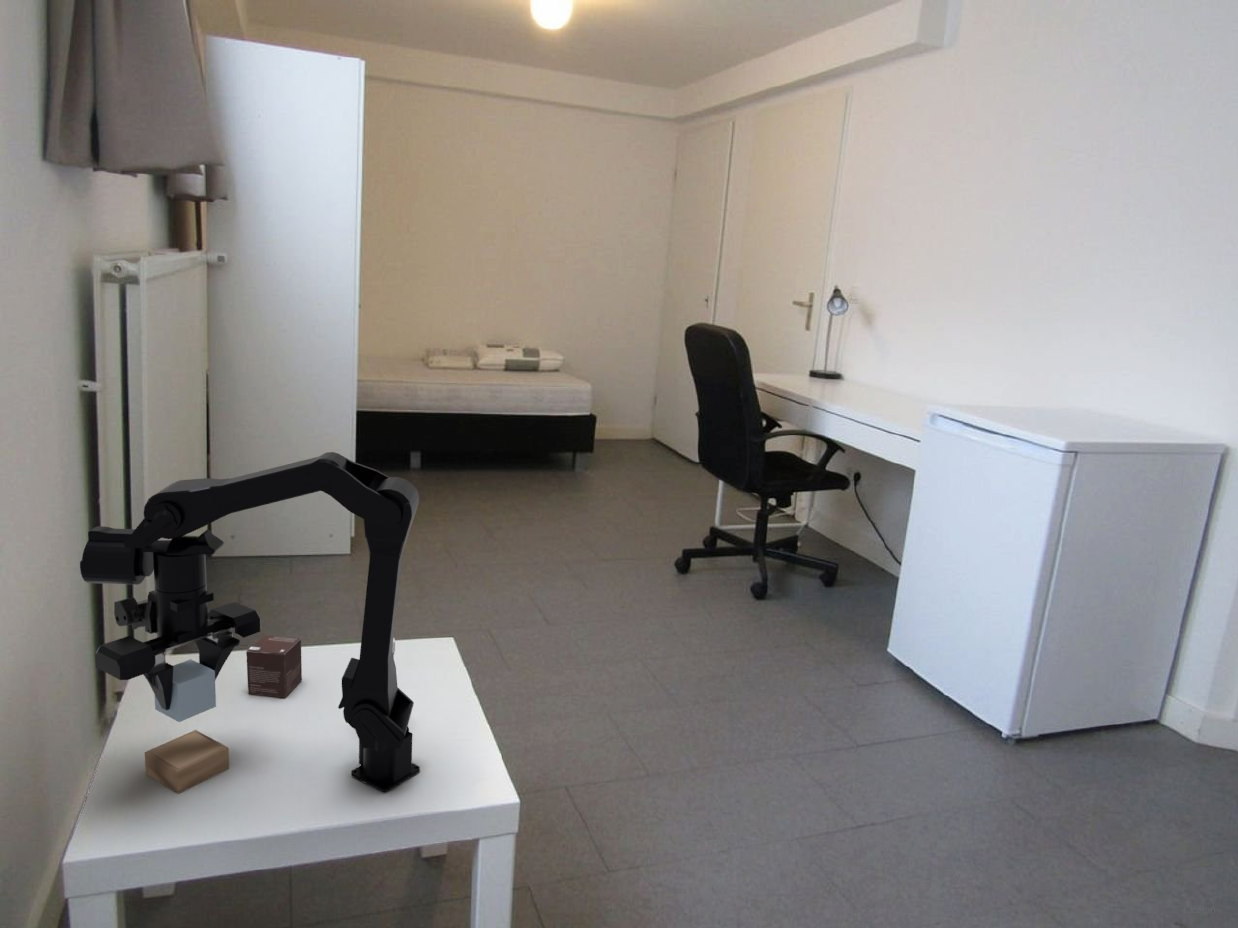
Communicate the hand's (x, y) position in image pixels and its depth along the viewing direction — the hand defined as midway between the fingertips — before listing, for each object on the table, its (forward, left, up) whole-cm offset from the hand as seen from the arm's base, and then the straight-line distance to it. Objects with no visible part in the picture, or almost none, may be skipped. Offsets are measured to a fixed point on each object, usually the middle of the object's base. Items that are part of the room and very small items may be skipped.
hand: (185, 700), depth 112 cm
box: (+10, -21, -10) cm, 25 cm away
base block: (0, 0, -10) cm, 10 cm away
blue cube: (0, 0, -1) cm, 1 cm away
